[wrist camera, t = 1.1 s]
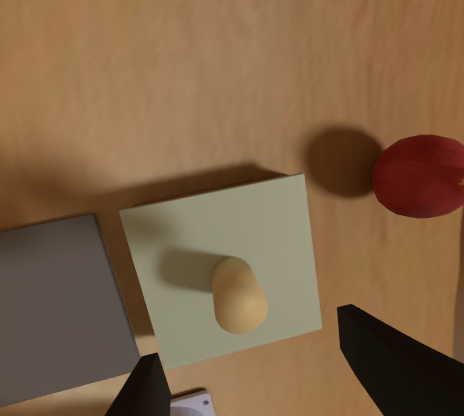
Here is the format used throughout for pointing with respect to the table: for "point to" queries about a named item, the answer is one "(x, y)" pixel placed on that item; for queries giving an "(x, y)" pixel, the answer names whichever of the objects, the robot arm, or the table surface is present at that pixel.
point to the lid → (226, 268)
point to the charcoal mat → (59, 311)
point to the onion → (420, 176)
